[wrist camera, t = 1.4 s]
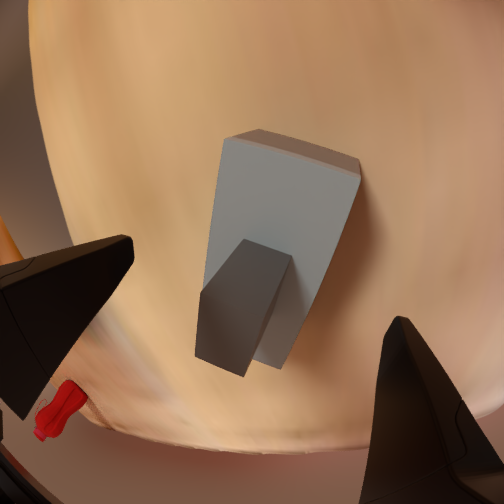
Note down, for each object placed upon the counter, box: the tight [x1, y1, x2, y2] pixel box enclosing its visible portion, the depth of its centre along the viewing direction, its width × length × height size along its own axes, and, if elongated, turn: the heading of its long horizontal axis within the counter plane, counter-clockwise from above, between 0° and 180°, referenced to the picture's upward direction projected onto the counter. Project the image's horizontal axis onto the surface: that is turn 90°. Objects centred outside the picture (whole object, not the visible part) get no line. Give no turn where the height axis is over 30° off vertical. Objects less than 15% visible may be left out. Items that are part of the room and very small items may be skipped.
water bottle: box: [33, 380, 88, 442], centre depth 63 cm, size 9×11×25 cm
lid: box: [195, 137, 361, 377], centre depth 16 cm, size 16×7×6 cm, turn 168°
